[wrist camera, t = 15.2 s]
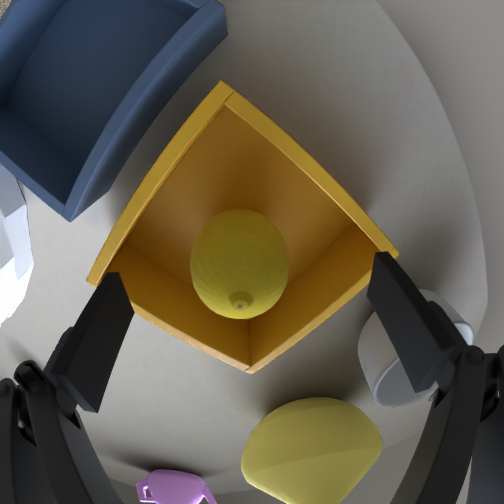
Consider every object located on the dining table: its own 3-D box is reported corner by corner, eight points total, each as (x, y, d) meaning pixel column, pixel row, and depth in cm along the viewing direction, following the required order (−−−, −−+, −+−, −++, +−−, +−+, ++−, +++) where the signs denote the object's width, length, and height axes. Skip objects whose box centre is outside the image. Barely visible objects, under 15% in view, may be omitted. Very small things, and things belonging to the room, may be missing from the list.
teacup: (326, 335, 26) (348, 403, 19) (403, 252, 22) (453, 311, 15) (399, 363, 30) (422, 412, 23) (459, 304, 26) (494, 349, 19)
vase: (257, 443, 39) (264, 540, 23) (220, 395, 30) (220, 543, 14) (362, 419, 38) (388, 514, 21) (370, 361, 29) (420, 505, 12)
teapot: (146, 476, 56) (143, 509, 45) (129, 461, 48) (123, 501, 38) (221, 483, 57) (221, 518, 47) (216, 471, 49) (216, 514, 39)
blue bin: (228, 34, 13) (224, 5, 8) (108, 192, 18) (70, 223, 13) (93, -33, 8) (58, -58, 4) (3, 109, 13) (-43, 120, 8)
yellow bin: (365, 217, 20) (400, 254, 15) (248, 325, 25) (252, 375, 20) (226, 88, 15) (220, 79, 10) (115, 239, 20) (85, 280, 15)
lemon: (228, 176, 17) (223, 227, 10) (294, 222, 19) (326, 293, 12) (184, 239, 19) (159, 316, 12) (247, 277, 21) (252, 360, 14)
